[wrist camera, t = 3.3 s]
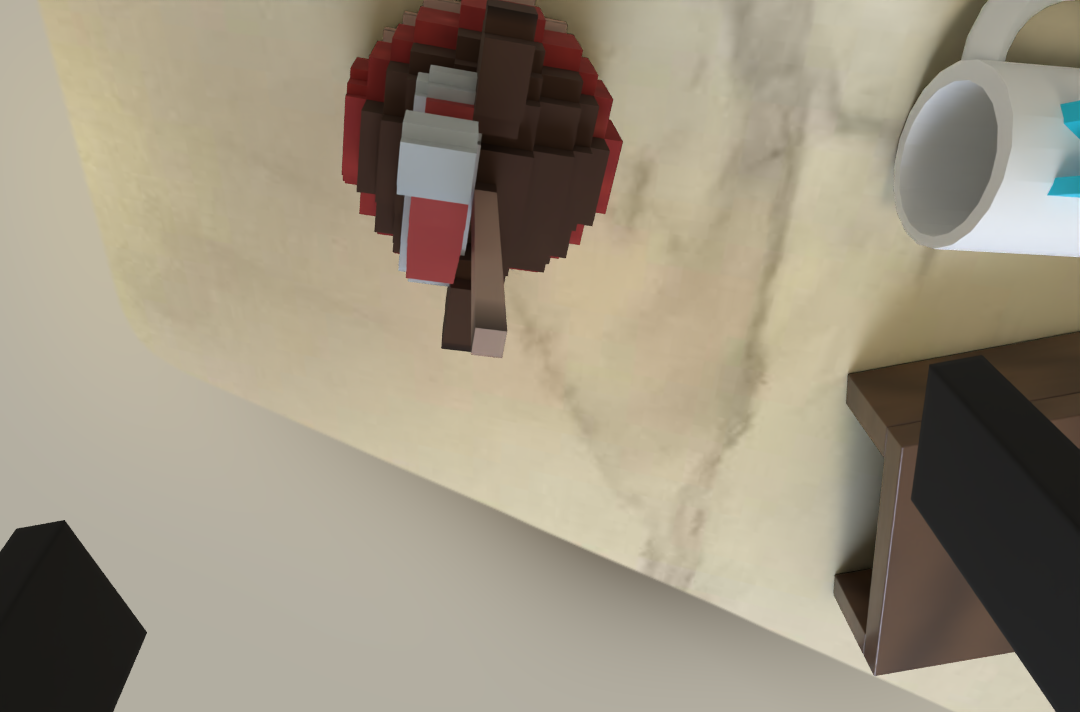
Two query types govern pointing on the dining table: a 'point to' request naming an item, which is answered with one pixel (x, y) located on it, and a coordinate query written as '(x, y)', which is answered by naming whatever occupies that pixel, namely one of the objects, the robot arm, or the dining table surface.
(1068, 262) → the dining table surface
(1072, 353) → the shelf
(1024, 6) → the mug
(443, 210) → the cake
